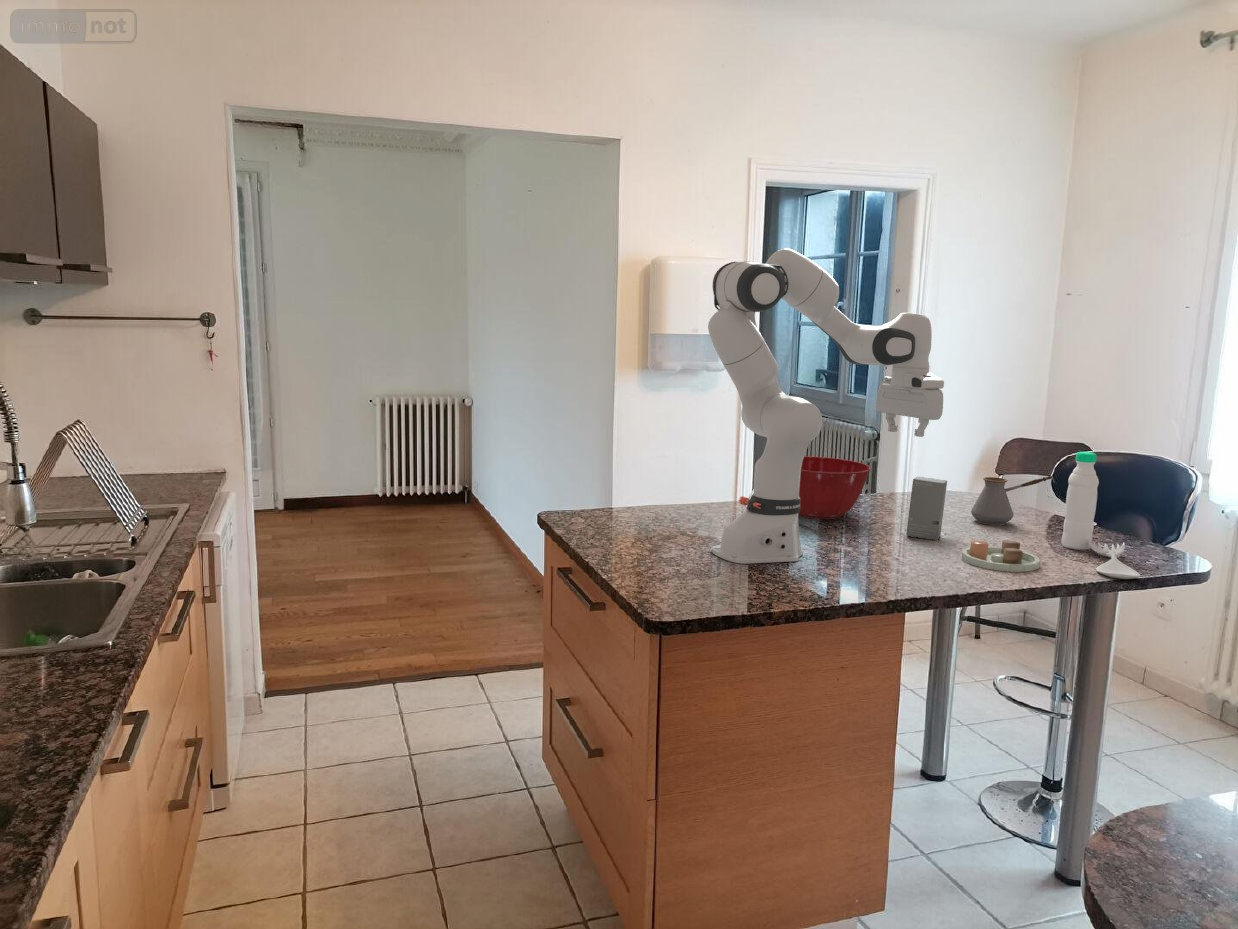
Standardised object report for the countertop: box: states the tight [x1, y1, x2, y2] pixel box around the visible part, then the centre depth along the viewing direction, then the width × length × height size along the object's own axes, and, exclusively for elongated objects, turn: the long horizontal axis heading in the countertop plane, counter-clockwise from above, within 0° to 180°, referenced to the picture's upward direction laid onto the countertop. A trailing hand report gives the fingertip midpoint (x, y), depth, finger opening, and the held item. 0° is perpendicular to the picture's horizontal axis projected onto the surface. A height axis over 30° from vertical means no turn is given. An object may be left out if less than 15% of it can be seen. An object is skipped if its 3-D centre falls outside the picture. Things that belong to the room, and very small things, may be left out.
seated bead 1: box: [1001, 539, 1021, 554], centre depth 219 cm, size 4×4×4 cm
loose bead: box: [969, 540, 989, 561], centre depth 218 cm, size 4×4×4 cm
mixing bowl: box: [798, 455, 872, 520], centre depth 267 cm, size 28×28×15 cm
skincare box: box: [906, 476, 948, 541], centre depth 243 cm, size 8×7×16 cm
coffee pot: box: [970, 475, 1055, 526], centre depth 260 cm, size 21×12×15 cm, turn 71°
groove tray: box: [961, 545, 1041, 573], centre depth 216 cm, size 17×17×2 cm
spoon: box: [1087, 539, 1142, 580], centre depth 217 cm, size 9×32×3 cm, turn 158°
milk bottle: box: [1061, 451, 1100, 551], centre depth 234 cm, size 7×7×25 cm
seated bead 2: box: [1003, 548, 1023, 564], centre depth 212 cm, size 4×4×4 cm
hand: (905, 434), depth 228 cm, fingers open, 8 cm apart
